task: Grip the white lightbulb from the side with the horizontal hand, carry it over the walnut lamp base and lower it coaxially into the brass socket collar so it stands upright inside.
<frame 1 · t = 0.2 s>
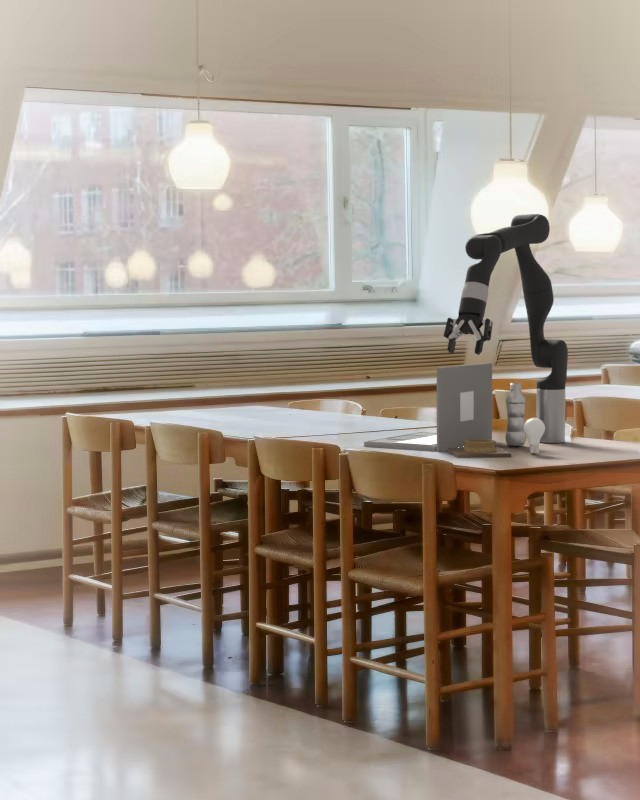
hand: (463, 353, 376), 31 cm above the table, tool tilted 20°, fingers open, 8 cm apart
laptop: (429, 445, 420), on the table
lamp socket base: (479, 454, 391), on the table
plastic bottle: (515, 447, 411), on the table
lightbulb: (534, 455, 389), on the table
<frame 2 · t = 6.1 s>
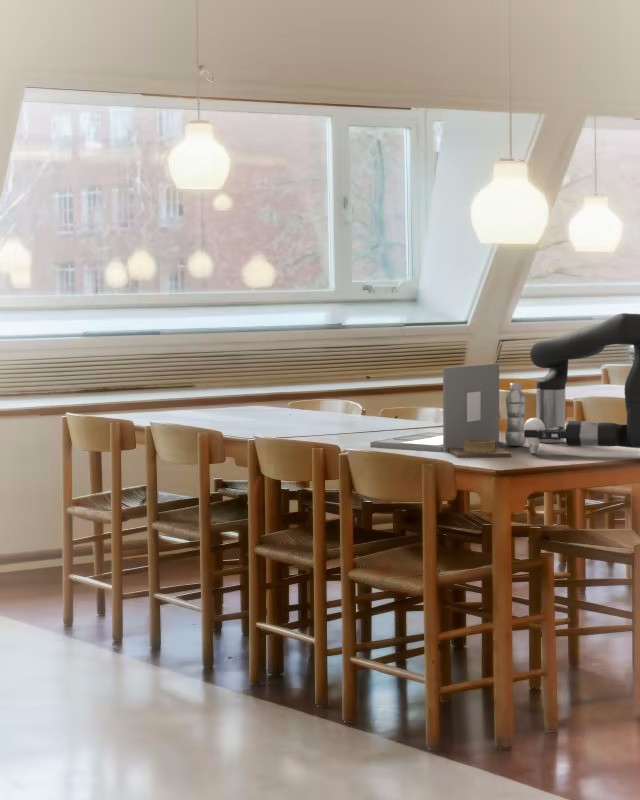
hand: (526, 432, 389), 7 cm above the table, tool horizontal, fingers closed on lightbulb, 6 cm apart
laptop: (436, 445, 419), on the table
lightbulb: (534, 455, 389), on the table, touching gripper
everything else where it was.
when the fingers open (9 cm above the table, at t = 11.9 s): lightbulb drops 1 cm, resting on lamp socket base.
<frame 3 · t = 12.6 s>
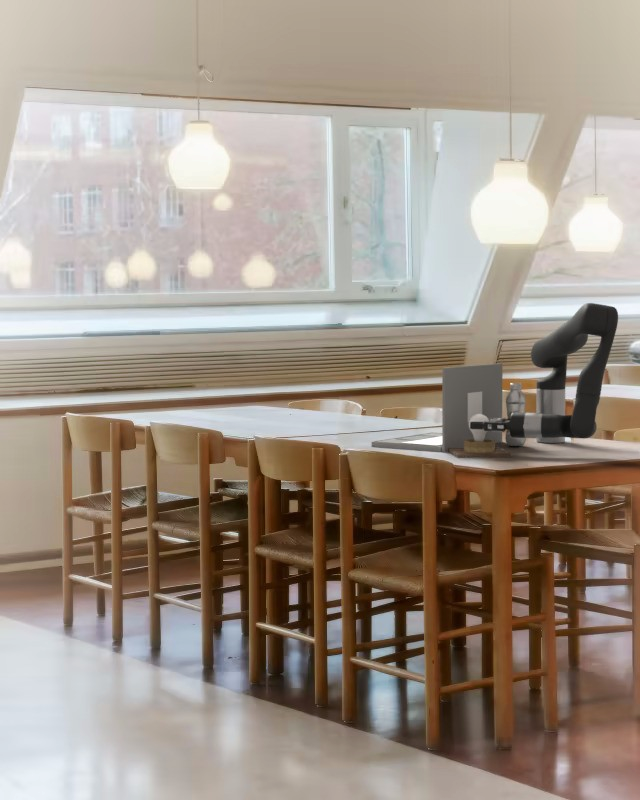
hand: (473, 424, 391), 9 cm above the table, tool horizontal, fingers open, 8 cm apart
lightbulb: (479, 451, 392), point 1 cm above the table, touching gripper, lamp socket base
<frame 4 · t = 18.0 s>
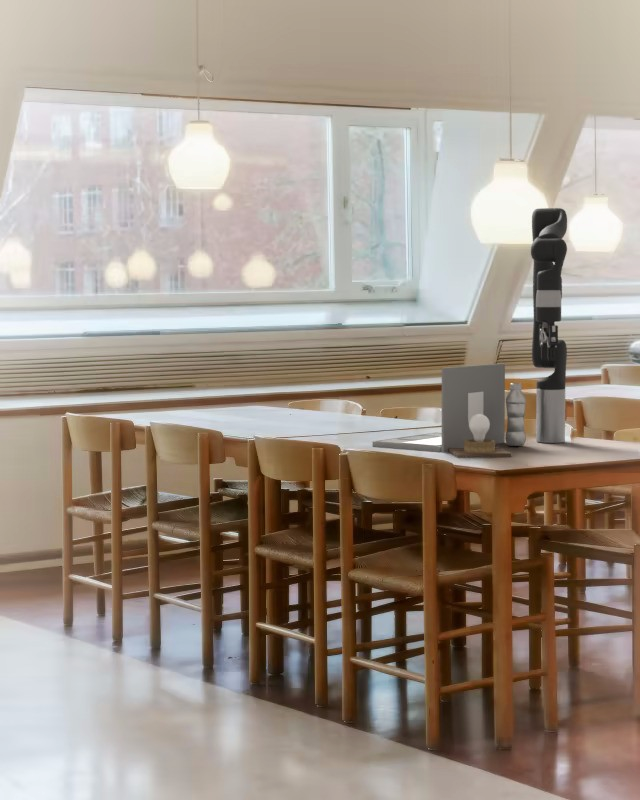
hand: (548, 359, 391), 28 cm above the table, tool pointing down, fingers open, 8 cm apart
lightbulb: (479, 451, 392), point 1 cm above the table, touching lamp socket base
at the end: lightbulb 1.0 cm off-centre on the lamp socket base, point 0.8 cm above the lamp socket base's base; lightbulb tilted 0°; the gripper is holding nothing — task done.
